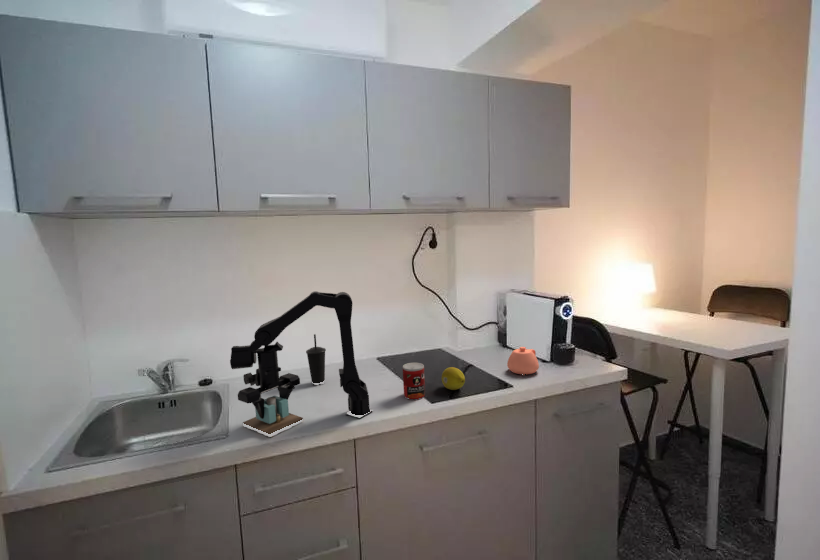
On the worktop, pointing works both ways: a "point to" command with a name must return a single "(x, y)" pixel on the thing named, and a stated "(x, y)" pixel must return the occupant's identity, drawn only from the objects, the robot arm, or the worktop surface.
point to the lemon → (453, 378)
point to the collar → (270, 410)
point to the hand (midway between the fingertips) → (272, 413)
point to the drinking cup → (316, 362)
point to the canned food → (413, 380)
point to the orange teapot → (523, 361)
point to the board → (275, 425)
